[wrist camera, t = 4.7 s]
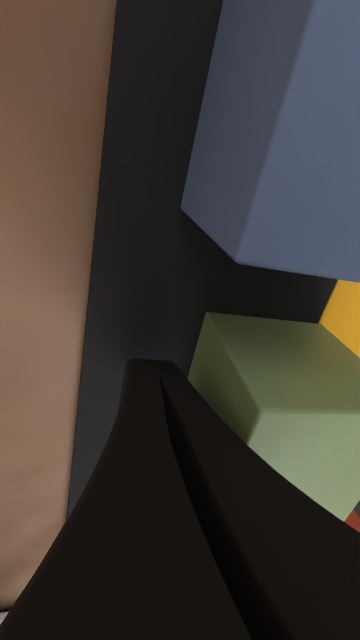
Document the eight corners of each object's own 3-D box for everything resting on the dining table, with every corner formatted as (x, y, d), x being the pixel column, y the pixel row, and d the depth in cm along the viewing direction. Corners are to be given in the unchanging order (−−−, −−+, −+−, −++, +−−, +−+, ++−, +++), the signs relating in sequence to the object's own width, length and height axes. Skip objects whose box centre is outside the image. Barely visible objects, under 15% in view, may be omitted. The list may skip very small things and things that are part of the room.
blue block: (318, 236, 9) (449, 298, 6) (179, 208, 8) (234, 265, 5) (391, 57, 8) (647, -12, 4) (223, -9, 6) (371, -189, 3)
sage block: (279, 415, 13) (345, 522, 9) (176, 413, 12) (207, 535, 8) (321, 322, 11) (425, 413, 7) (204, 310, 10) (261, 410, 6)
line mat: (378, 518, 20) (382, 523, 20) (64, 545, 15) (63, 552, 15) (696, 120, 10) (712, 120, 10) (132, -156, 6) (132, -169, 5)
